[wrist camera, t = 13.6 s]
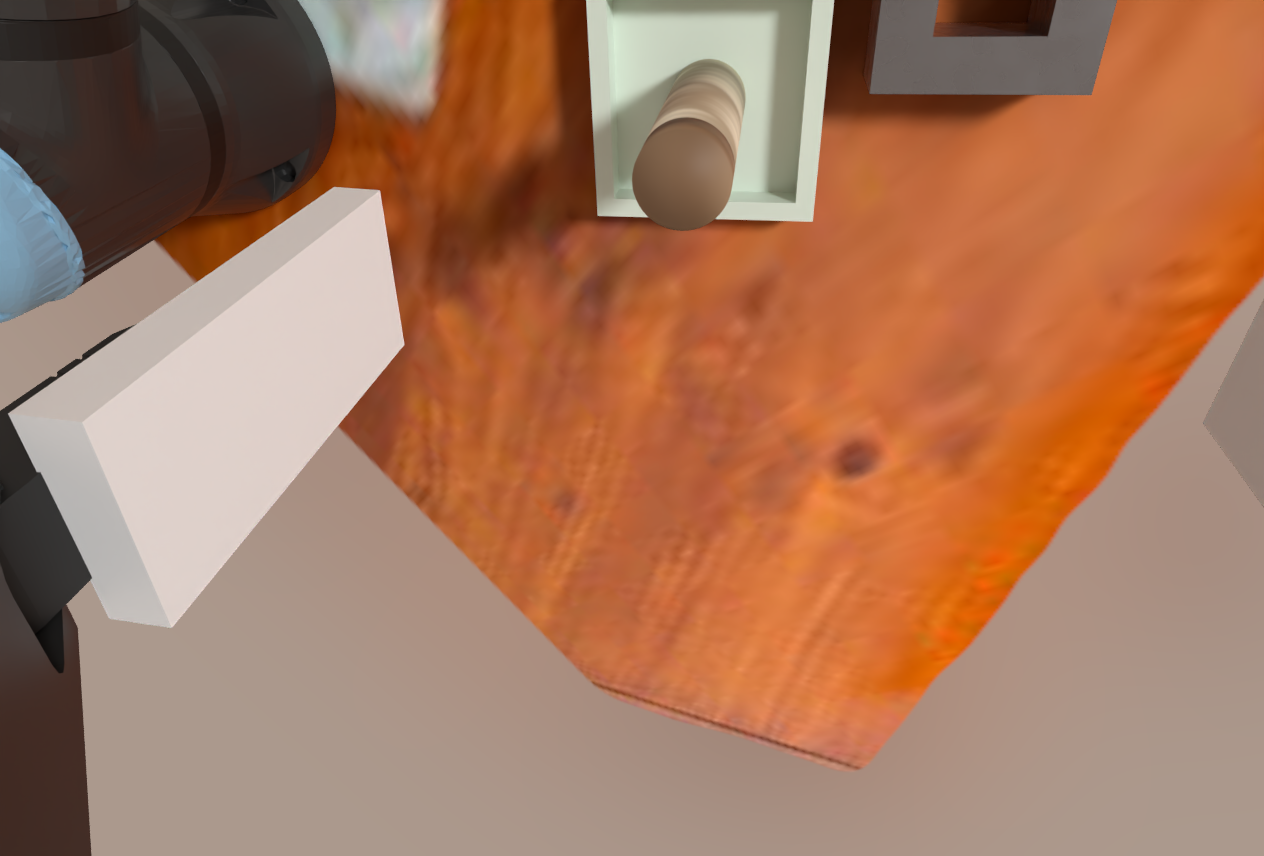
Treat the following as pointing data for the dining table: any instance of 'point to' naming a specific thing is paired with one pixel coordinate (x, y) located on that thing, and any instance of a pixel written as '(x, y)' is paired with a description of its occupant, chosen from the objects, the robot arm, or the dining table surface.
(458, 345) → the dining table surface
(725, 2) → the tray
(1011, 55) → the socket block
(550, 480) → the dining table surface
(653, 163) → the pin
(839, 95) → the dining table surface
